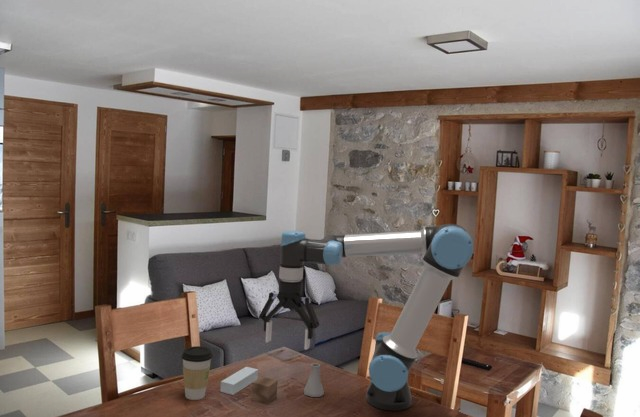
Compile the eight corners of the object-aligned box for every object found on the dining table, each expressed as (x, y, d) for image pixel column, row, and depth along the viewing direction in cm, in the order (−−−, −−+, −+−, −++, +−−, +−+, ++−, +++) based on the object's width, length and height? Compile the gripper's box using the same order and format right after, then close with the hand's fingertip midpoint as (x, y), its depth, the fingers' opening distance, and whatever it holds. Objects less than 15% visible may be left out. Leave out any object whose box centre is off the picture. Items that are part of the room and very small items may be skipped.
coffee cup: (216, 394, 177) (219, 349, 176) (197, 405, 168) (200, 358, 167) (192, 387, 181) (194, 343, 180) (173, 397, 172) (175, 351, 171)
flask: (322, 399, 179) (324, 369, 178) (301, 396, 180) (302, 366, 180) (326, 390, 186) (328, 362, 185) (305, 387, 187) (307, 359, 187)
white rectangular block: (257, 379, 192) (258, 369, 192) (233, 395, 177) (233, 384, 177) (245, 376, 194) (246, 366, 194) (220, 391, 179) (220, 381, 179)
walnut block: (276, 398, 178) (277, 380, 177) (267, 404, 172) (268, 386, 172) (260, 393, 180) (261, 376, 180) (251, 400, 174) (252, 382, 174)
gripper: (331, 282, 170) (327, 348, 172) (261, 273, 179) (258, 335, 181) (323, 286, 163) (319, 355, 165) (250, 276, 172) (247, 341, 174)
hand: (287, 344), depth 173 cm, fingers open, 13 cm apart
